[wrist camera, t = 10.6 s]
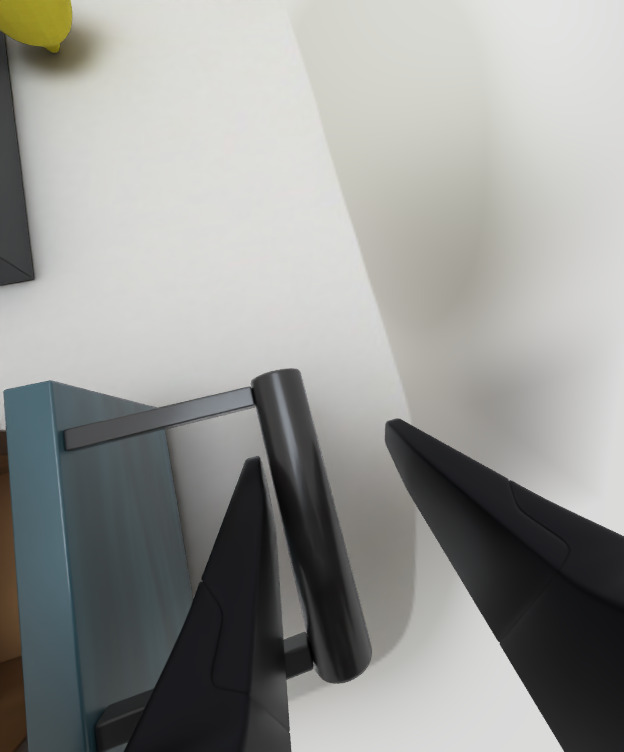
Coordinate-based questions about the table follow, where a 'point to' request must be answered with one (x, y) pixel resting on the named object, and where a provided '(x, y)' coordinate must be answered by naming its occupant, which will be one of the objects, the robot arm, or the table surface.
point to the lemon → (36, 21)
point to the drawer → (139, 556)
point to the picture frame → (11, 190)
